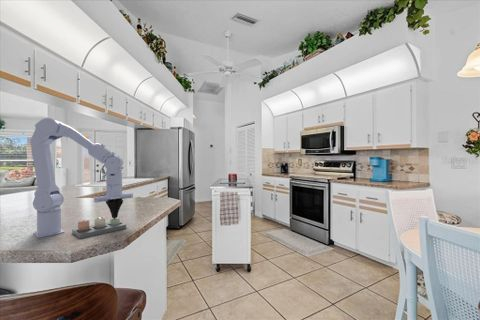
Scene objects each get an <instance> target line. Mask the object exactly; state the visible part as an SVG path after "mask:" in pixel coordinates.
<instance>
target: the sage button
mask: <svg viewBox="0 0 480 320" xmlns="http://www.w3.org/2000/svg"><path fill="white" fill-rule="evenodd" d="M109 222H110V226H114V225H118V224H120V222H121V221H120V218H119V217H117V218H112V217H111V218H110V219H109Z"/></svg>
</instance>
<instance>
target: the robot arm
mask: <svg viewBox="0 0 480 320" xmlns="http://www.w3.org/2000/svg"><path fill="white" fill-rule="evenodd" d="M34 126H35V129H34V132H32V136H31V138H30V147H31V154H32V160H33V164H34V165H33V166H34V172H35V173H34V174H35V178H36V183H37V188H36V189H35V190H34V198H33V201H32V206H33V207H32V208H33V209H35V210H36V231H33V234H34V235H35V237H36V238H37V239H40V238H45V237H50V236H54V235H58V234H59V235H60V234H64V233H65V230H63V229H62V207H61V205H62V204H64V200H65V199H64V195H63V194H62V193H61V191H60V188H59V186H58V185H57V183H56V177H55V172H54V166H53V160H52V159H53V158H52V154H51V144H53V143H54V142H55V141H56V140H59V139H61V138H63V137H65V138H69V139H71V140H72V141H73V142H75V143H77V144H79V145H80V146H82V147H83V148H84V149H86V150H87V152H88V155H89V156H90V157H92V158H93V159H95V160H97V161H98V162H99V163H101V164H103V165H104V168H106V173H105V175H106V177H105V180H106V184H105V185H106V186H105V188H106V194H105V195H101V196H93V203H95V204H96V203H97V204H98V203H102V202H105V204H106V205H107V207H108V209H109V212H110V215H111V219H112V218H118V215H119V212H120V209H121V207H122V205H123V203H124V200H126V199H133V198H134V193H133V192H130V193H123V173H122V170H123V169H122V166H123V164H124V160H123V159H122V158H121V157H120V156H119V155H116V152H114V151H110V150H109V149H107V148H106V145H105V144H104V143H102V144H100V143H98V142H97V143H94V142H92V141H91V140H89V138H87V137H85V136H84V135H83V134H82V133H80V132H79V131H77V130H76V129H75V128H73V127H72V126H70V125H68V124H66V123H65V122H62V121H58V120H55V119H53V118H51V117H45V118H42V119H41V120H39V121H38V122H36V123H35V124H34Z"/></svg>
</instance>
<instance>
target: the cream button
mask: <svg viewBox="0 0 480 320" xmlns="http://www.w3.org/2000/svg"><path fill="white" fill-rule="evenodd" d="M105 223H106V217H105V216H98V217H95V218H94V225H95V228H103V227H105Z"/></svg>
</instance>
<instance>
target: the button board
mask: <svg viewBox="0 0 480 320" xmlns="http://www.w3.org/2000/svg"><path fill="white" fill-rule="evenodd" d="M89 226H90V230H88V231H83V232H78V227H77V228H73V229H71V233H72V234H73V236H75V237H76V238H78V239H85V238H90V237H94V236H99V235H103V234H108V233H111V232H115V231H120V230H125V229H127V224H126V223H123V222H121V221H120V224H118V225H114V226H110V221H108V222H105V227H103V228H95V224H93V225H89Z"/></svg>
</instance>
